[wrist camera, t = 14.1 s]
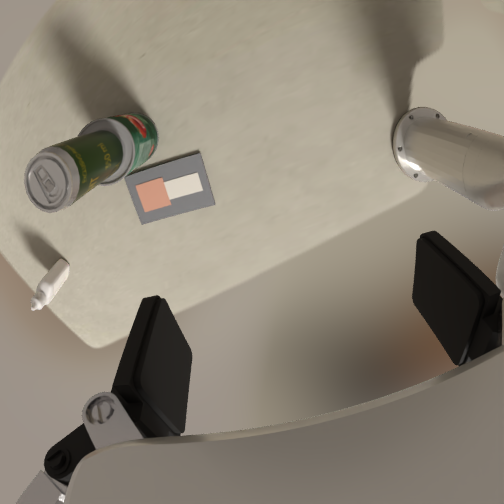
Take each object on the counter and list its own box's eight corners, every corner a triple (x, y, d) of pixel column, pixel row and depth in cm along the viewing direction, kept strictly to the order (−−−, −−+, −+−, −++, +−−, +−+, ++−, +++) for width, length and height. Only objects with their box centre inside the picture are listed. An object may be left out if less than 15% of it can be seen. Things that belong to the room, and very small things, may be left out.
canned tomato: (156, 108, 37) (130, 111, 27) (161, 161, 41) (139, 181, 31) (105, 118, 37) (69, 126, 27) (112, 168, 40) (80, 190, 31)
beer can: (76, 148, 28) (13, 176, 18) (109, 119, 27) (50, 134, 17) (100, 184, 31) (46, 227, 20) (134, 158, 30) (86, 190, 19)
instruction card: (200, 152, 40) (199, 153, 40) (215, 203, 44) (215, 204, 44) (125, 176, 41) (123, 177, 41) (142, 223, 45) (141, 224, 44)
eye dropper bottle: (77, 274, 49) (49, 315, 38) (59, 283, 49) (32, 323, 39) (64, 255, 47) (33, 293, 36) (47, 266, 47) (16, 303, 37)
